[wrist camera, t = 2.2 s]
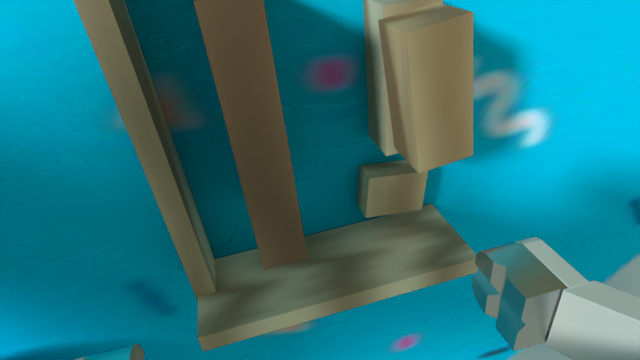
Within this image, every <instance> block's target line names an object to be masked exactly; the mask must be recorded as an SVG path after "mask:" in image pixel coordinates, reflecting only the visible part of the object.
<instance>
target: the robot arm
mask: <svg viewBox="0 0 640 360" xmlns="http://www.w3.org/2000/svg"><path fill="white" fill-rule="evenodd" d="M475 264H476V266H477V267H478V268H479V270H478V271H477V272H476V273H475V275H474V276H473V283H472V287H473V291H474V295H475V298H476V300H477V302H478V304H479V305H480V307H481V308H482V310H483V311H484V312H485V313H486V314H488V315H490V316H492V317H494V318H496V329H497V330H498V331H499V333H500V334H501V335H502V337H503V338H504V339H505V341H506V342H507V343H508V345H509V346H510V347H511V349H512V350H513V351H515V350H518V349H522V348H526V347H529V346H533V345H536V344H540V343H544V342H546V344H547V345H549V346H550V347H552V348H554V349H555V350H557V351H559V352H560V353H562V354H563V355H565V356H567V357H568V358H570V359H572V360H640V297H637V296H634V295H632V294H629V293H627V292H624V291H621V290H619V289H616V288H613V287H611V286H608V285H606V284H603V283H600V282H598V281H595V280H594V281H590V282H589V281H588V280H586V279H585V278H584V277H583V276H582V275H581V274H580V273H579V272H577V271H576V270H575V269H574V268H573V267H572V266H571V265H570V264H568V263H567V262H566V261H565V260H564V259H563V258H562V257H560V256H559V255H558V254H557V253H556V252H555V251H554V250H553V249H551V248H550V247H549V246H548V245H547V244H546V243H545V242H544V241H542V240H541V239H539V238H537V237H532V238H528V239H525V240H521V241H517V242H512V243H509V244H505V245H502V246H498V247H495V248H491V249H488V250H484V251H480V252H479V253H478V254H477V255H476V259H475ZM144 354H145V353H144V351H143V350H142V348H141V347H140V345H139V344H135V345H131V346H126V347H122V348H118V349H114V350H110V351H106V352H101V353H97V354H93V355H89V356H86V357H82V358H78V359H74V360H144Z"/></svg>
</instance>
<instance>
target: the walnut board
mask: <svg viewBox="0 0 640 360" xmlns="http://www.w3.org/2000/svg"><path fill="white" fill-rule="evenodd" d="M194 5H195V9H196V13H197V17H198V21H199V24H200V28H201V32H202V36H203V40H204V44H205V47H206V51H207V55H208V59H209V63H210V66H211V70H212V74H213V78H214V82H215V86H216V89H217V93H218V97H219V101H220V105H221V109H222V112H223V116H224V120H225V124H226V128H227V131H228V135H229V139H230V143H231V147H232V151H233V154H234V158H235V162H236V166H237V170H238V173H239V177H240V181H241V185H242V189H243V193H244V196H245V200H246V204H247V208H248V212H249V215H250V219H251V223H252V227H253V231H254V235H255V238H256V242H257V246H258V250H259V254H260V258H261V261H262V265H263V269H264V270H267V269H271V268H275V267H278V266H282V265H286V264H290V263H294V262H297V261H301V260H305V259H308V256H307V250H306V244H305V238H304V233H303V227H302V221H301V215H300V210H299V204H298V198H297V192H296V186H295V181H294V175H293V169H292V163H291V157H290V152H289V146H288V140H287V134H286V129H285V123H284V117H283V111H282V105H281V100H280V94H279V88H278V82H277V76H276V71H275V65H274V59H273V53H272V48H271V42H270V36H269V30H268V24H267V19H266V13H265V7H264V1H263V0H194Z"/></svg>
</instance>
